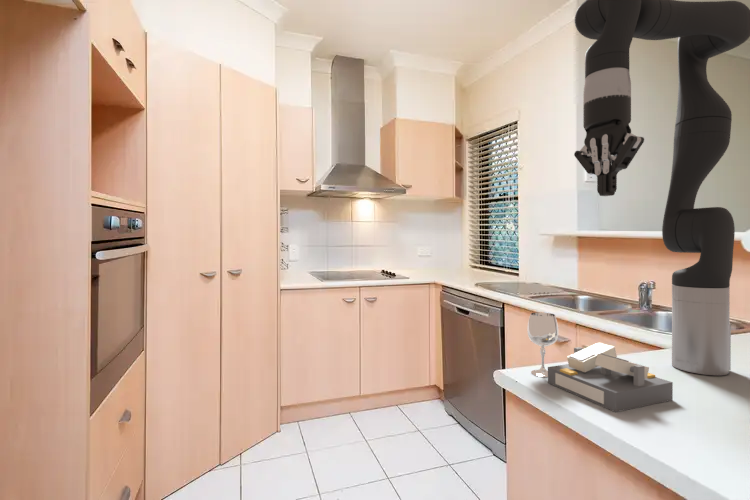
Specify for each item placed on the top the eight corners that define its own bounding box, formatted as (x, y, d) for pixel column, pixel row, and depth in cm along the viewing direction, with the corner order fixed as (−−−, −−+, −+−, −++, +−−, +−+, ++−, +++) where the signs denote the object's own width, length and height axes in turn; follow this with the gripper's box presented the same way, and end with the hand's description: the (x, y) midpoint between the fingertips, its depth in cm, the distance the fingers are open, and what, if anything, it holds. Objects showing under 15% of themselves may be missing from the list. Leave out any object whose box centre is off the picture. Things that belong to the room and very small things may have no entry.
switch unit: (599, 374, 79) (599, 343, 79) (672, 400, 66) (672, 363, 66) (547, 382, 75) (547, 350, 75) (614, 412, 62) (614, 372, 62)
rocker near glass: (598, 351, 77) (596, 340, 77) (619, 357, 73) (617, 346, 72) (567, 366, 74) (564, 355, 74) (587, 373, 70) (584, 361, 70)
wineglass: (561, 379, 77) (561, 317, 77) (530, 377, 78) (530, 316, 78) (554, 370, 82) (554, 312, 82) (525, 368, 84) (525, 311, 83)
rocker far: (624, 372, 71) (627, 360, 71) (649, 379, 67) (652, 367, 67) (592, 364, 68) (595, 351, 68) (616, 371, 64) (619, 358, 64)
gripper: (657, 89, 68) (657, 191, 68) (591, 114, 80) (591, 200, 80) (625, 84, 65) (625, 190, 65) (562, 110, 77) (562, 199, 78)
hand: (606, 195), depth 73 cm, fingers closed
